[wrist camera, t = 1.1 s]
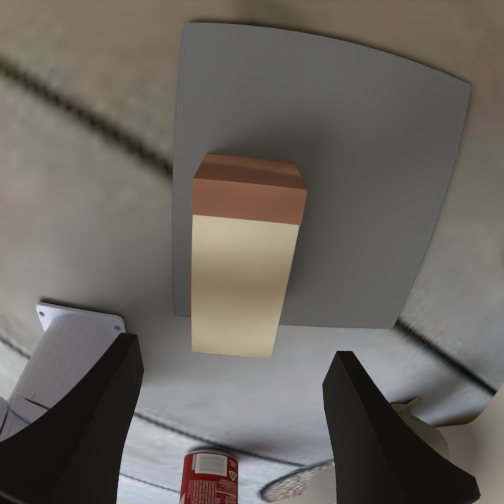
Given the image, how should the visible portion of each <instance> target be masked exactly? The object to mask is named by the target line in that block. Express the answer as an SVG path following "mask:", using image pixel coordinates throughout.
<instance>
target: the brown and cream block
mask: <svg viewBox="0 0 504 504" xmlns="http://www.w3.org/2000/svg"><path fill="white" fill-rule="evenodd" d="M307 191H308V190H307V188H306V185H305V183H304V181H303V179H302V177H301V175H300V173H299V171H298V168H297V166H296V164H295V163H291V162H283V161H275V160H266V159H257V158H248V157H238V156H227V155H215V154H206V155H205V156H204V158H203V160H202V162H201V164H200V166H199V168H198V170H197V171H196V173H195V175H194V177H193V187H192V213H191V215H193V224H192V274H191V319H192V352H198V353H208V354H219V355H230V356H243V357H257V358H271V354H272V350H273V346H274V341H275V337H276V333H277V328H278V324H279V320H280V315H281V311H282V306H283V302H284V297H285V292H286V288H287V283H288V278H289V274H290V269H291V264H292V259H293V255H294V250H295V245H296V240H297V235H298V230H299V225H301V222H302V217H303V212H304V207H305V201H306V196H307Z"/></svg>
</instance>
